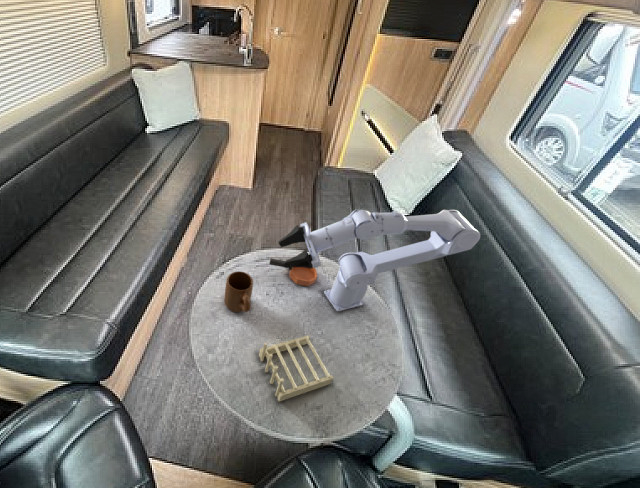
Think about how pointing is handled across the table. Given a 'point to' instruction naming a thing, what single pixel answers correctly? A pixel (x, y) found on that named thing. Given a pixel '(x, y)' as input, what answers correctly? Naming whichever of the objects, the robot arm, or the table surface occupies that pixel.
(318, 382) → the rack
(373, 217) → the robot arm
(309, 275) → the pan
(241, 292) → the mug
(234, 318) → the table surface
